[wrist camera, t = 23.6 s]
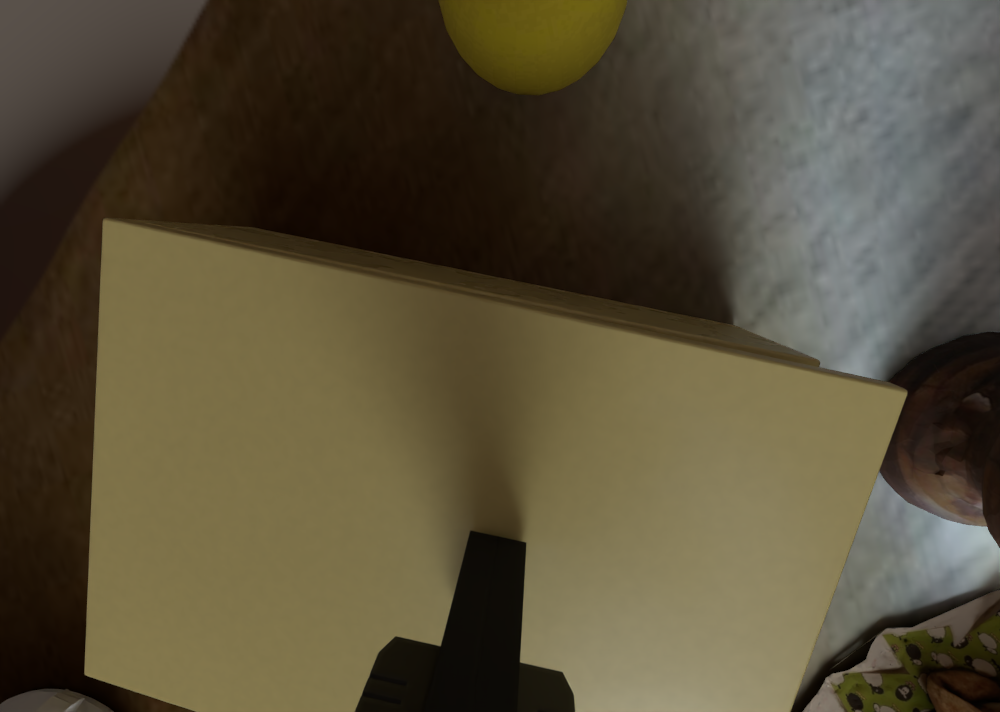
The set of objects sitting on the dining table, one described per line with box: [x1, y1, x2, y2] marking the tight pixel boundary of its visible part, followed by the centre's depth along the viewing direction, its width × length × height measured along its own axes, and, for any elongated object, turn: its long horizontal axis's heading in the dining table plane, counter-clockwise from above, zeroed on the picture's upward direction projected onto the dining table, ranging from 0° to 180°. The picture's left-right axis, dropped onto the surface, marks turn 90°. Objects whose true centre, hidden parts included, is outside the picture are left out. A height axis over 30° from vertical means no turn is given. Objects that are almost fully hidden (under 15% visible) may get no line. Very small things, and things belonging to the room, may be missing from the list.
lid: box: [84, 218, 907, 712], centre depth 15 cm, size 20×15×1 cm
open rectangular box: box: [131, 219, 820, 367], centre depth 20 cm, size 20×15×7 cm
